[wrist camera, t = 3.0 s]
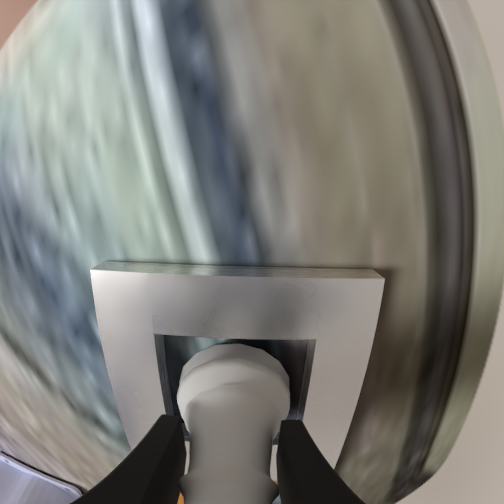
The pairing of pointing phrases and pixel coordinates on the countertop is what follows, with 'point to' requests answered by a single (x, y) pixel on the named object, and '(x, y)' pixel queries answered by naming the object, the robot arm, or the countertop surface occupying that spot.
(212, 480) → the rook chess piece
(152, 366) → the rail plate
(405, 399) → the countertop surface
